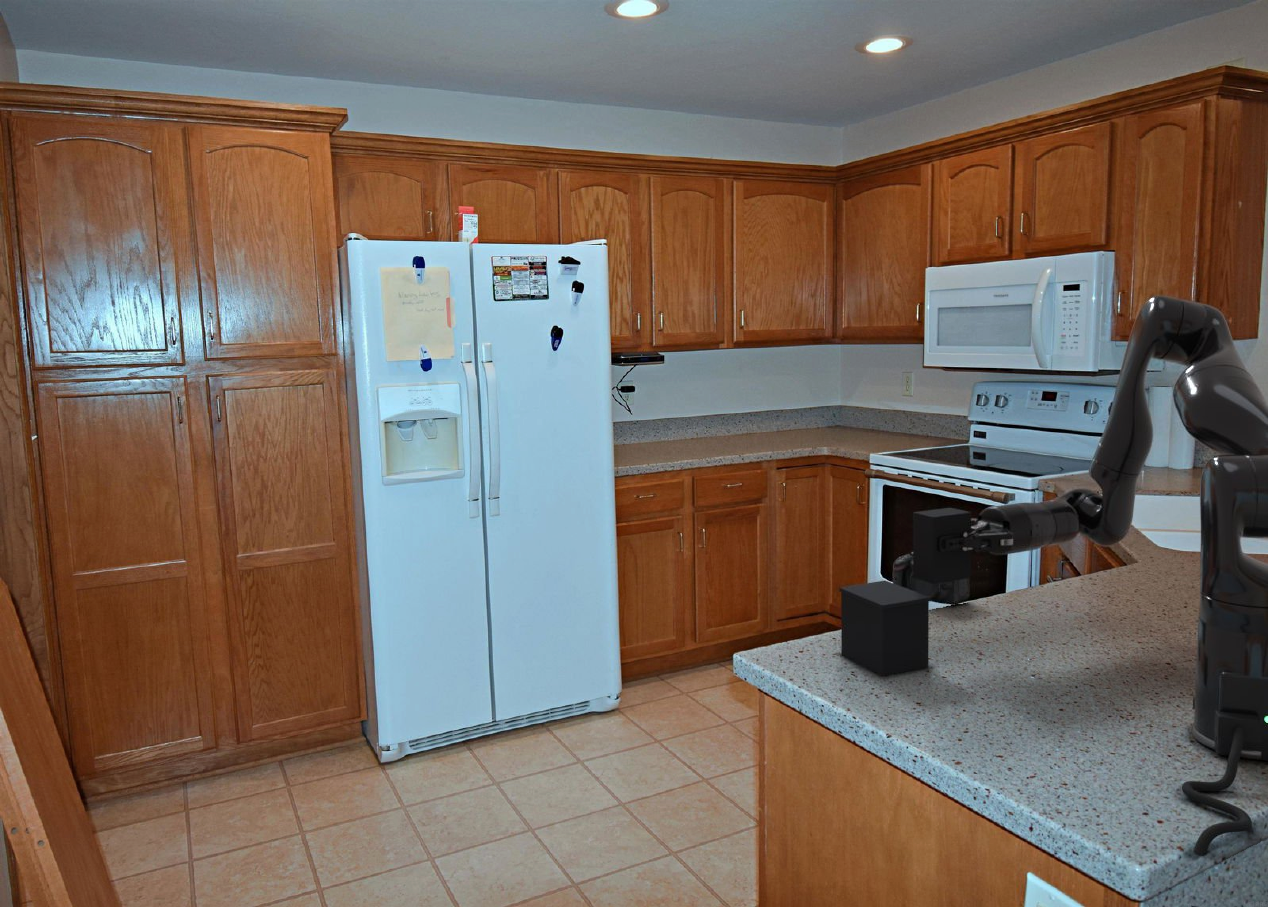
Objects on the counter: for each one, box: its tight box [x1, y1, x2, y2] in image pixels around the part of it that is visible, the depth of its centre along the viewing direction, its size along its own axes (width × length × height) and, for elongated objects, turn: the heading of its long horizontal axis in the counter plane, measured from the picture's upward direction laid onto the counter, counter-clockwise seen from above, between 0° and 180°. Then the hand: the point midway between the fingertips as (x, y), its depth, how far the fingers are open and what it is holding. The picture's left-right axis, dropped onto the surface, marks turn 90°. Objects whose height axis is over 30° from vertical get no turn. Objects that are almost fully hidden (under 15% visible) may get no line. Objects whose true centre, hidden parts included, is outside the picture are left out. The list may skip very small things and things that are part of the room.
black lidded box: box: [838, 580, 931, 677], centre depth 130 cm, size 10×8×10 cm
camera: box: [892, 551, 970, 606], centre depth 160 cm, size 13×10×10 cm
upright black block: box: [912, 507, 972, 584], centre depth 132 cm, size 4×7×10 cm, turn 112°
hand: (927, 540), depth 131 cm, fingers closed on upright black block, 4 cm apart
